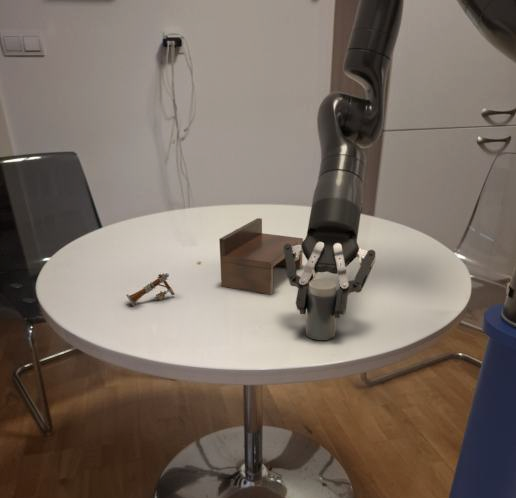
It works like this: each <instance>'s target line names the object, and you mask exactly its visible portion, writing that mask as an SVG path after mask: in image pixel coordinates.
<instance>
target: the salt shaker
mask: <svg viewBox="0 0 516 498" xmlns="http://www.w3.org/2000/svg"><path fill="white" fill-rule="evenodd" d="M337 291H338V283H337V282H336V281H335V280H332V279H329V278H315V279H314V280H312V281H310V282H309V289H308V291H307V308H306V314H305V335H306V337H308V338H309V339H312V340H316V341H327V340H330V339H331V340H332V339H333V338H334V337H335V336H336V329H337V328H336V327H337V318H335V315H334V312H335V305H336V298H337Z"/></svg>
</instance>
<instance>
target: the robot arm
mask: <svg viewBox="0 0 516 498" xmlns="http://www.w3.org/2000/svg"><path fill="white" fill-rule="evenodd" d="M456 2H457V3H458V5H459V6H460V8H461V9H462V11H463V13H464V14H465V15H466V17H467V18H468V19H469V21H470V22H471V23H472V25H473V26H474V27H475V29H476V30H477V32H479V34H480V35H481V36H482V37H483V38H484V40H485V41H487V43H489V45H490V46H492V47H493V48H494V49H496V51H498V52H499V53H500V54H502V55H503V56H504V57H506V58H507V59H509V60H510V61H511V62H513V63H514V64H516V0H456ZM404 3H405V0H359V2H358V5H357V10H356V13H355V18H354V22H353V25H352V29H351V32H350V36H349V40H348V44H347V46H346V47H347V48H346V51H345V55H344V57H343V58H344V59H343V63H342V71H343V73H344V74H345V76H347V77H348V78H349V79H351V80H353V81H355V82H356V83H358V85H360V86H361V87H362V88H363V90H364V93H365V98H363V97H360V96H356V95H353V94H349V93H346V92H344V91H343V92H342V91H333V92H329V94H327V95H326V96H325V97H324V98H323V99H322V101H321V102H320V104H319V107H318V109H317V115H316V116H317V117H316V126H317V127H316V128H317V135H318V140H319V141H318V142H319V146H320V165H319V172H318V176H317V182H316V184H315V185H316V186H315V188H314V192H313V197H312V202H311V208H310V213H309V215H310V216H309V220H308V226H307V232H306V236H305V238H304V239H303V242H302V244H301V245H296V246H291V244H285V245H284V253H285V261H286V274H287V279H288V283H289V285H290V286H291V287H295V288H297V293H296V299H295V305H296V310H297V311H299V314H300V315H306V310H307V291H308V289H309V282H310V281H312V280H315V279H316V277H317V275H318V273H330V274H335V275H336V276H337V279H338V280H337V281H338V286H339V288H337V298H336V305H335V312H334V315H335V318H336V319H340V318H341V315H342V316H344V315H345V314H346V311H347V304H348V297H349V295H350V294H351V293H360V292H361V291H362V290H363V288H364V286H365V283H366V282H367V279H368V278H369V275H370V273H371V271H372V269H373V267H374V265H375V263H376V251H375V250H374V249H369V250H365V249H362V248H360V246H359V244H358V236H359V228H360V222H361V221H360V220H361V214H362V213H363V200H364V180H365V175H366V174H365V173H366V167H367V156H366V153H365V151H364V150H363V149H368V148H370V147H372V146H373V145H374V144H375V143H377V141H378V140H379V138H380V136H381V134H382V131H383V127H384V123H385V101H386V100H385V98H386V85H387V79H388V72H389V69H390V65H391V62H392V58H393V55H394V52H395V49H396V44H397V41H398V37H399V33H400V29H401V26H402V20H403V12H404V5H405V4H404ZM301 253H303V255H304V257H305V259H306V260H307V262H306V264H305V266H304V269H303V272H302V274H301V275H298V274H297V268H296V267H295V261H297V260H298V259H299V255H300V254H301ZM357 258H358V265H359V269H358V270H357V273H356V275H355V277H354V279H352V280H349V279H348V274H347V267H348V266H349V265H350V264H351V263H352V262H353V261H354V260H355V259H357ZM505 292H506V297H505V301H504V303H503V304H504V309H503V310H502V314H501V319H502V320H503V321H504V322H505V323H506V324H507V325H509V326H511V327H513V328H515V329H516V260H515V262H514V266H513V271H512V274H511V277H510V281H507V284H506V290H505Z"/></svg>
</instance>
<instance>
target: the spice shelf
mask: <svg viewBox="0 0 516 498" xmlns="http://www.w3.org/2000/svg"><path fill="white" fill-rule="evenodd" d="M218 240H219V241H218V243H219V259H220V282H221V283H220V284H221V287H224V288H230V289H237V290H242V291H248V292H253V293H259V294H264V295H270V296H271V295H272V294H273V293H274V267H275V266H277V267H286V261H285V253H284V245H285V244H291V246H296V245H301V244H302V242H303V241H304V238H303V237H297V236H296V237H295V236H288V235H280V234H279V235H278V234H270V233H263V218H261V217H257V218H254V220H252V221H249V222H247V223H246V224H244V225H242V226H240V227H238V228H237V229H235V230H233V231H231V232H229V233H228V234H226V235H224V236H222V237H219V239H218ZM303 255H304V253H301V254H300V255H299V259H298V260H297V261H295V267H296V269H299V270H300V269H302V268H303Z"/></svg>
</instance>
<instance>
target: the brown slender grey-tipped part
mask: <svg viewBox="0 0 516 498" xmlns="http://www.w3.org/2000/svg"><path fill="white" fill-rule="evenodd" d="M169 277H170V274H169V273H164V272H163V273H162V274H161V273H159V274H158V275H157V277H156V279H155V280H153V281H150V282H149V283H147V284H146V285H145V286H143V287H142V289H140V290H137V292H134V293H132V294H129V293H127V294H125V296H126V297H127V299H128V300H129V302H130V303H131V305H132V306H133V307H135V306H136V303H137V302H138V301H139V300H140V299H141V298H142V297H143V296H145V295H146V294H149V293H150V292H152V291H154V290H155V289H156V287H158V286H160V287H163V288H166V289H167V290H163V291H161V290H160V292H159V293H157V294H155V296H154V300H155V301H161V300H162V299H163V298H166V295H167V294H168V292H169V294H170V295H171V296H174V295H175V291H174V290H173V288H172V287H171V286H170V285H169V283H168V282H167V280H168V278H169Z"/></svg>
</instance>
